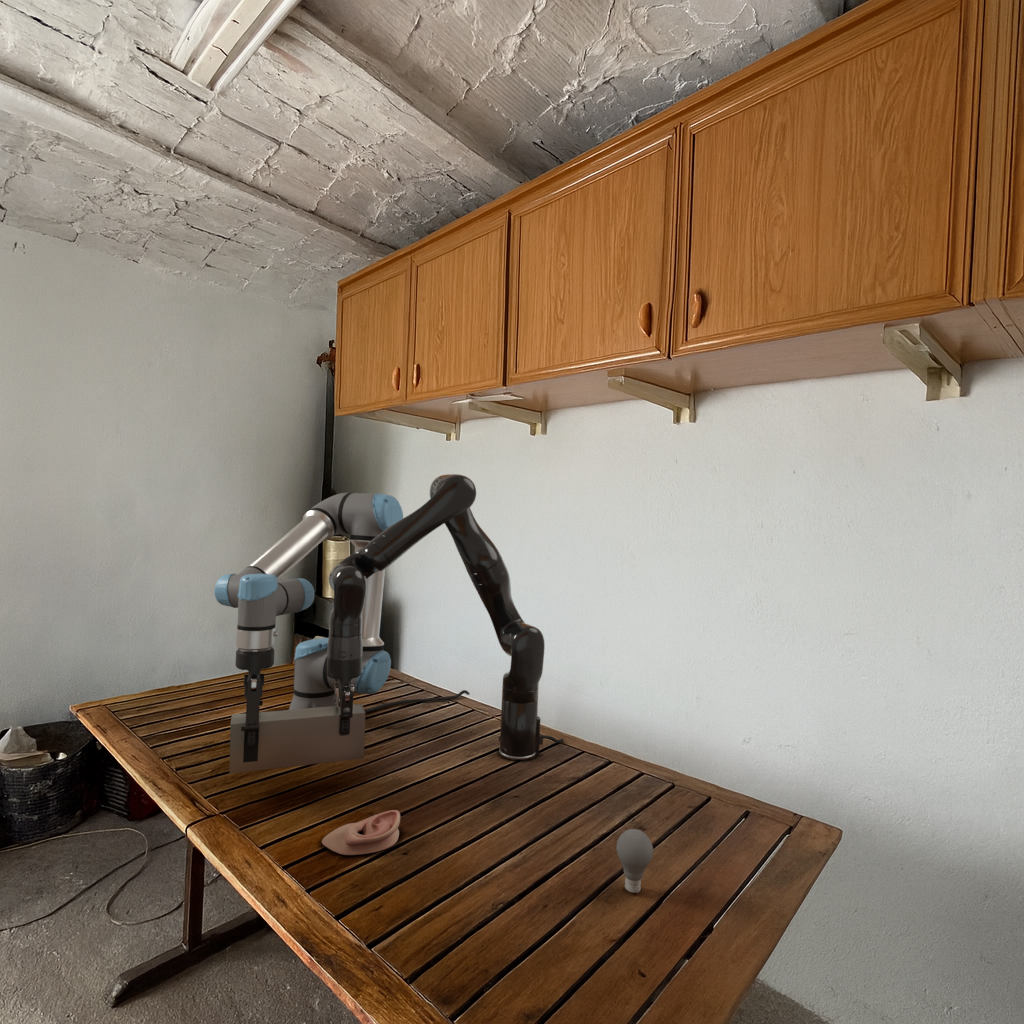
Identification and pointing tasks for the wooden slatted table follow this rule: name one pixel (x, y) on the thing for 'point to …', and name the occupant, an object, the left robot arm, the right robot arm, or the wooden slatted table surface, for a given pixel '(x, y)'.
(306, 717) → the box
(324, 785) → the wooden slatted table surface
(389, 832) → the anatomical model
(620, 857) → the light bulb
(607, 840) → the wooden slatted table surface
